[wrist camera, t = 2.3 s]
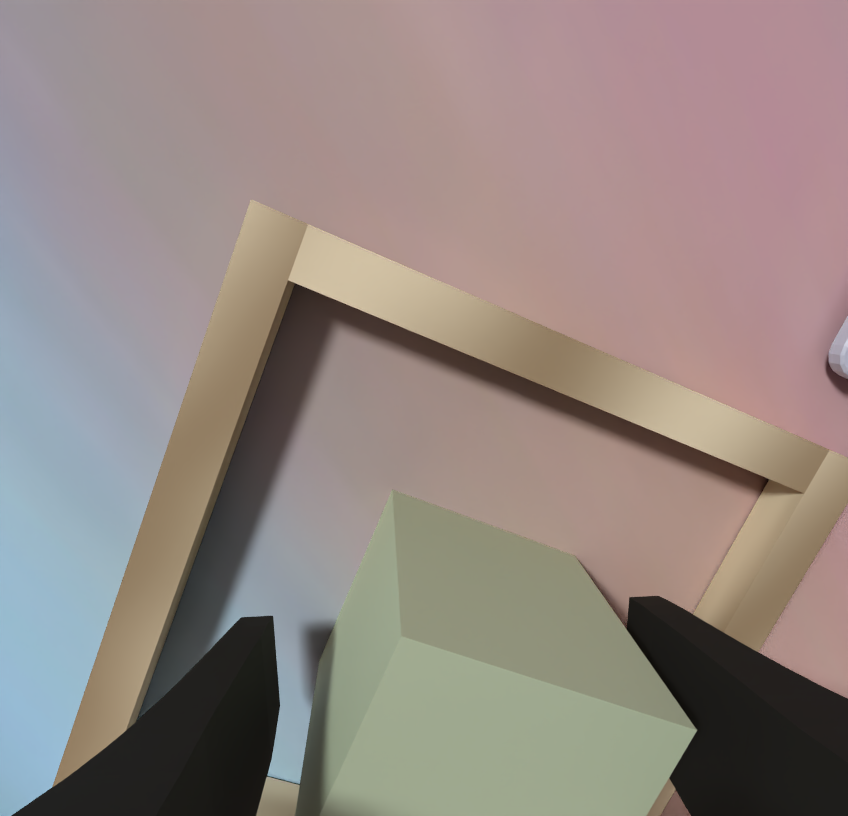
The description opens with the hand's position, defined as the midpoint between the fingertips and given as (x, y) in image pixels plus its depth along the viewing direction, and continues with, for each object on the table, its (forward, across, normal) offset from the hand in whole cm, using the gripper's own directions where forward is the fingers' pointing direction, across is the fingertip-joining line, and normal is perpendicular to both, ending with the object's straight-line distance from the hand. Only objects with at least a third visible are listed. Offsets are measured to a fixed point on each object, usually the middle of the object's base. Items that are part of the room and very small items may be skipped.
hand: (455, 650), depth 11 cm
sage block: (+2, 0, 0) cm, 2 cm away
